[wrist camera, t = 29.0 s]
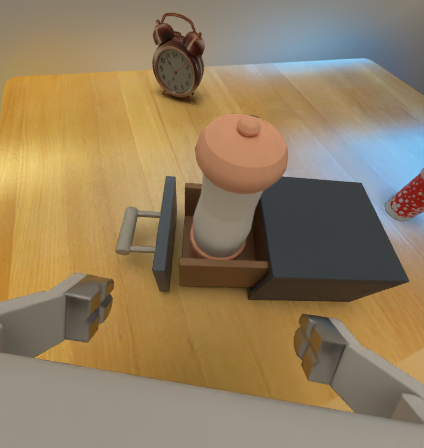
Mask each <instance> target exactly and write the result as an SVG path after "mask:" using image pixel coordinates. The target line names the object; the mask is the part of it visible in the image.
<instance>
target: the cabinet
mask: <svg viewBox="0 0 424 448" xmlns="http://www.w3.org/2000/svg"><path fill="white" fill-rule="evenodd" d="M259 204H260V210H261V217H262V224H263V230H264V237H265V244H266V251H267V257H268V264H269V271H270V273H269V274H268V275H267V276H266V277H264V278H263V279H262V280H261V281H260V282H259V283H258V284H257V285H256V286H255V287H247V290H248V299H249V300H291V301H338V302H350V301H353V300H356V299H359V298H362V297H365V296H368V295H371V294H374V293H377V292H380V291H383V290H386V289H389V288H392V287H395V286H398V285H401V284H404V283H407V282H409V279H408V277H407V275H406V273H405V271H404V269H403V267H402V265H401V263H400V261H399V259H398V257H397V255H396V253H395V251H394V249H393V246H392V244H391V242H390V240H389V238H388V236H387V234H386V232H385V230H384V228H383V226H382V224H381V222H380V220H379V218H378V216H377V214H376V212H375V210H374V208H373V206H372V204H371V201H370V199H369V197H368V195H367V193H366V191H365V189H364V187H363V185H362V183H356V182H344V181H331V180H318V179H306V178H293V177H281V178H280V179H279V180H278V181H277V182H275V183H274V184H273V185H271V186H270V187H269V188H267V189H265V190H264V191H263V193H262V195H261V197H260V199H259Z"/></svg>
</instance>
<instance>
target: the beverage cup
mask: <svg viewBox="0 0 424 448" xmlns="http://www.w3.org/2000/svg"><path fill="white" fill-rule="evenodd" d="M385 209H386V211H387V212H388V213H389V215H391V216H392V217H393V218H395V219H397V220H400V221H406V220H409V219H411V218H413V217H414V216H416V215H418V214H420V213H422V212H424V168H423V169H422V170H421V173H420V174H419V175H418V176H416V177H415V178H414V179H413V180H412V181H411V182H410V183H408V184H407V185H406V186H405V187H404V188H403V189H401V190H400V191H399V192H398V193H397V194H396V195H395V196H393V197H392V198H391V199H390V200H389V201H388V202H387V203H386V204H385Z"/></svg>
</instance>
